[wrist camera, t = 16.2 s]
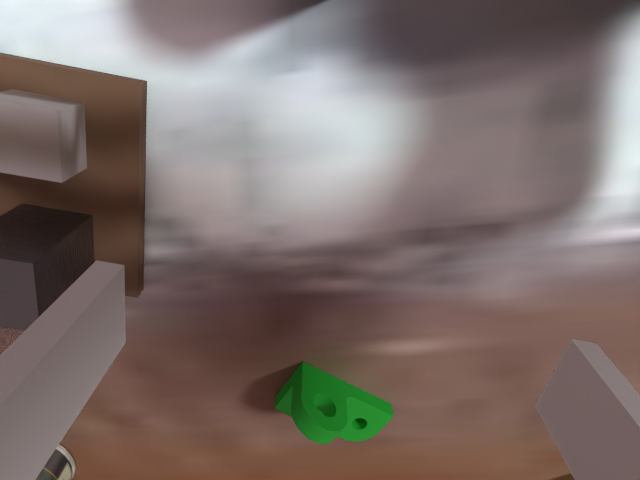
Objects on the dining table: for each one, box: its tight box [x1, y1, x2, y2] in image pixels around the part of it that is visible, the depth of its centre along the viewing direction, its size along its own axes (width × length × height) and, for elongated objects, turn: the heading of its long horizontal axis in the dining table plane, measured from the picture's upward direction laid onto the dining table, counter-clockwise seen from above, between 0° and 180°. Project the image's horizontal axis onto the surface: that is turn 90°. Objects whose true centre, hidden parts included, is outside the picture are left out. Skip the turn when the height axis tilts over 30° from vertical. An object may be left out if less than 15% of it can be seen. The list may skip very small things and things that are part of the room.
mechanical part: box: [274, 362, 393, 444], centre depth 47 cm, size 12×6×8 cm, turn 58°
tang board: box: [0, 53, 147, 297], centre depth 36 cm, size 20×14×6 cm
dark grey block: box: [0, 203, 95, 330], centre depth 35 cm, size 6×6×9 cm
